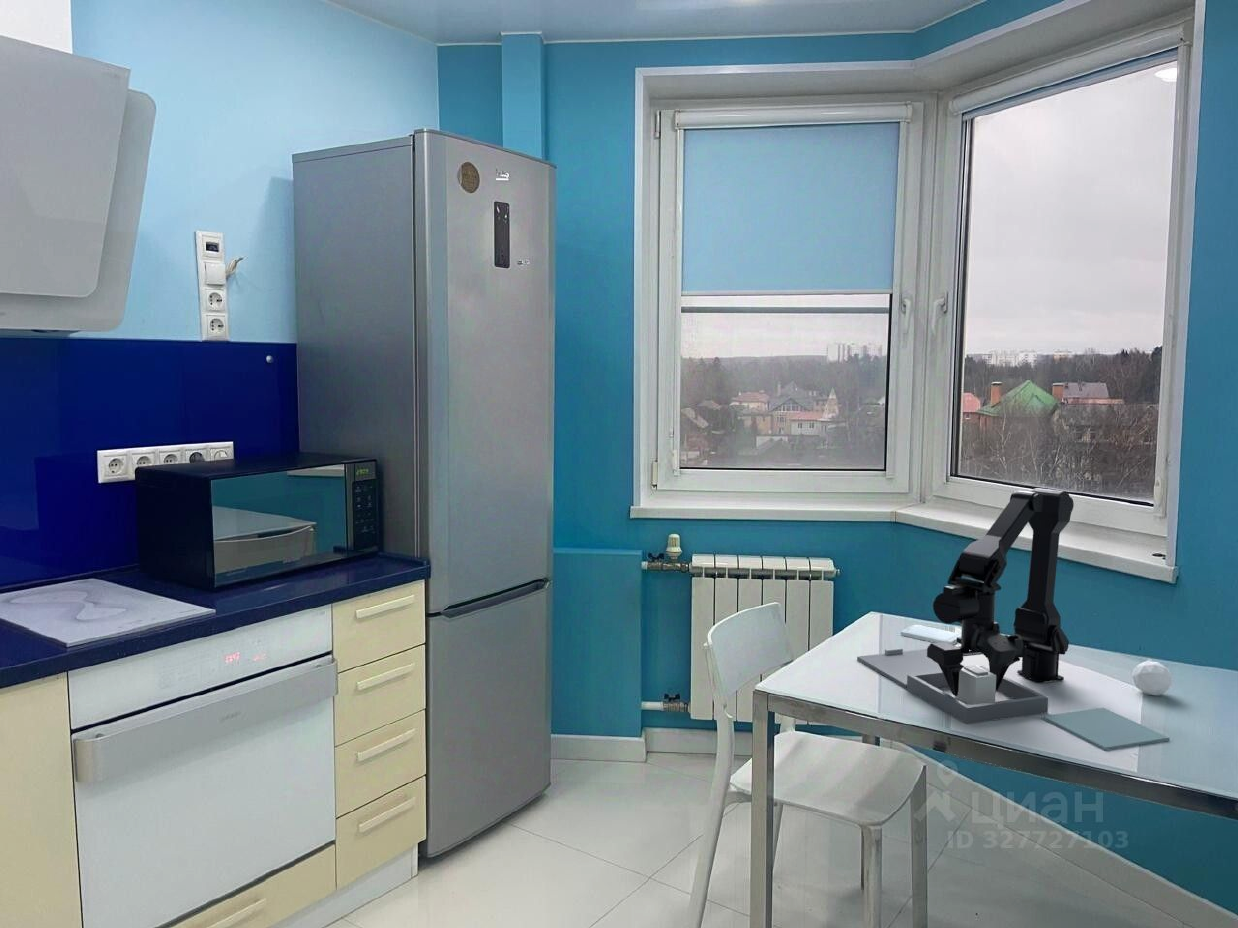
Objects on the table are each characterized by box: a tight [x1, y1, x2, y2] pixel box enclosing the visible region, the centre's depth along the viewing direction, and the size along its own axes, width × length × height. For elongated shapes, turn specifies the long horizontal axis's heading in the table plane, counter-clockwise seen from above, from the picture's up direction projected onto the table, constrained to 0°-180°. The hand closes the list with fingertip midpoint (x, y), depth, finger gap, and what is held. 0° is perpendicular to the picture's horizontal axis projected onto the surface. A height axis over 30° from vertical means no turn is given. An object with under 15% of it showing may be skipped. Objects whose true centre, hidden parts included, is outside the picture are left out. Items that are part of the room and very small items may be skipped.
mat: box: [1042, 707, 1170, 751], centre depth 152 cm, size 14×14×1 cm
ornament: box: [1132, 658, 1172, 696], centre depth 169 cm, size 6×7×7 cm
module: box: [954, 664, 997, 705], centre depth 166 cm, size 4×6×6 cm
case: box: [856, 647, 1049, 725], centre depth 175 cm, size 18×36×3 cm, turn 16°
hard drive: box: [900, 624, 961, 646], centre depth 206 cm, size 2×8×12 cm
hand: (974, 692), depth 166 cm, fingers open, 9 cm apart
